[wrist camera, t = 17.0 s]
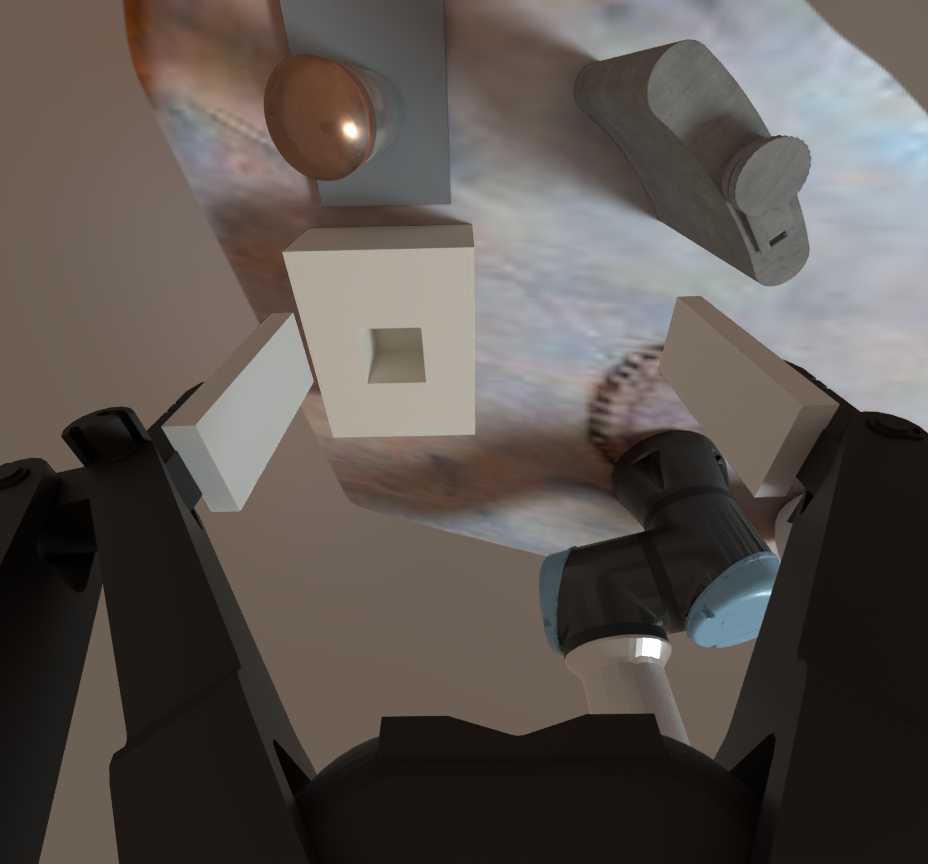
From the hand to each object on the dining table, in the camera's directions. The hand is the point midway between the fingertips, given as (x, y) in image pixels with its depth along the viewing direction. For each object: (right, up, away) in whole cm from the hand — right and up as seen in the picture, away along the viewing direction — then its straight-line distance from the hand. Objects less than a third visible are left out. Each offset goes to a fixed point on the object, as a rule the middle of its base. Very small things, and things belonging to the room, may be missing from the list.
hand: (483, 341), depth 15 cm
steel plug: (-8, +23, +20) cm, 32 cm away
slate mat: (-8, +24, +21) cm, 33 cm away
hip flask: (+15, +22, +23) cm, 35 cm away
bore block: (-8, +9, +33) cm, 35 cm away
